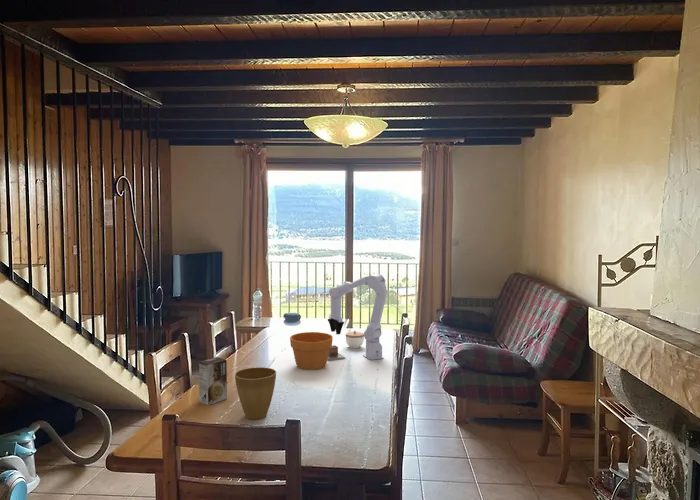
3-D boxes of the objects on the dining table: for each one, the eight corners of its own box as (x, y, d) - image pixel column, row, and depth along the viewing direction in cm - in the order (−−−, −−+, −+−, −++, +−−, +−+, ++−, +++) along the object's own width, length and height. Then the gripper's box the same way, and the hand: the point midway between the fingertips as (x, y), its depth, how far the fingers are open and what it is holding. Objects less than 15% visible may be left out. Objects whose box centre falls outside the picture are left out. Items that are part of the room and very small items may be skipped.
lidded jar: (364, 349, 277) (364, 333, 276) (345, 349, 277) (345, 332, 277) (363, 344, 288) (364, 329, 287) (345, 344, 288) (345, 328, 287)
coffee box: (217, 395, 199) (217, 356, 199) (227, 399, 195) (227, 359, 195) (198, 401, 192) (198, 361, 192) (207, 405, 188) (207, 364, 187)
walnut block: (337, 356, 258) (337, 347, 258) (330, 357, 257) (330, 347, 257) (335, 354, 262) (335, 345, 262) (328, 355, 261) (328, 345, 260)
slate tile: (345, 358, 257) (345, 357, 257) (327, 360, 253) (327, 359, 253) (338, 354, 266) (338, 352, 266) (320, 355, 262) (320, 354, 262)
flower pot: (326, 373, 231) (326, 342, 230) (284, 370, 235) (284, 340, 234) (336, 361, 251) (336, 333, 251) (297, 359, 256) (297, 331, 255)
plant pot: (278, 408, 186) (278, 366, 185) (273, 423, 171) (273, 378, 171) (239, 408, 186) (239, 366, 185) (230, 424, 171) (230, 379, 170)
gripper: (324, 306, 276) (324, 330, 277) (334, 311, 263) (333, 336, 263) (336, 306, 279) (335, 329, 279) (346, 310, 266) (345, 335, 266)
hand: (335, 332), depth 272 cm, fingers open, 7 cm apart
